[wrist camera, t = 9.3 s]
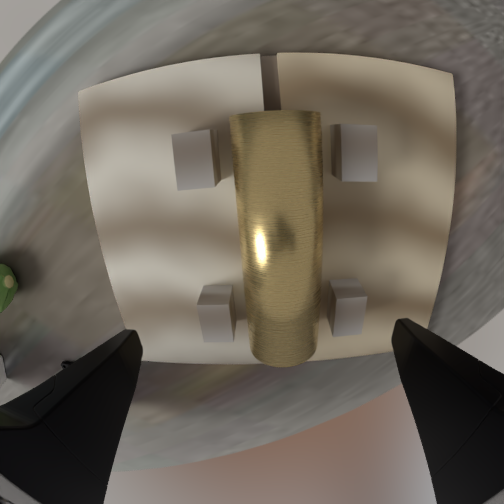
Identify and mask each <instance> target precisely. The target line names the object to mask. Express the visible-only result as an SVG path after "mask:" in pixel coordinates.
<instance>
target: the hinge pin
mask: <svg viewBox="0 0 504 504" xmlns="http://www.w3.org/2000/svg"><path fill="white" fill-rule="evenodd" d="M229 121H230V134H231V146H232V159H233V171H234V183H235V194H236V206H237V217H238V228H239V240H240V251H241V261H242V272H243V283H244V293H245V303H246V314H247V324H248V334H249V344H250V350H251V353H252V354H253V356H254V357H255V358H256V359H257V360H259V361H260V362H262V363H264V364H267V365H270V366H274V367H291V366H296V365H299V364H301V363H304V362H305V361H307V360H308V359H310V358H311V357H312V356H313V355H314V353H315V352H316V349H317V344H318V332H319V318H320V302H321V283H322V258H323V154H322V130H321V112H317V111H307V110H274V111H259V112H249V113H242V114H236V115H231V116H229Z"/></svg>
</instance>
